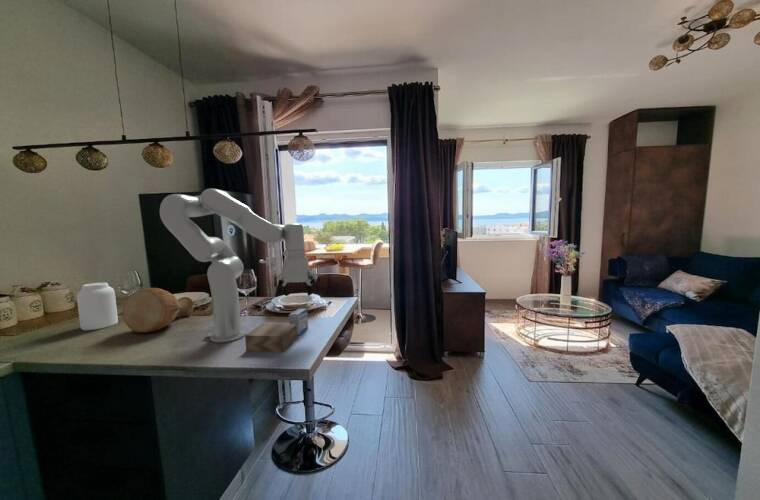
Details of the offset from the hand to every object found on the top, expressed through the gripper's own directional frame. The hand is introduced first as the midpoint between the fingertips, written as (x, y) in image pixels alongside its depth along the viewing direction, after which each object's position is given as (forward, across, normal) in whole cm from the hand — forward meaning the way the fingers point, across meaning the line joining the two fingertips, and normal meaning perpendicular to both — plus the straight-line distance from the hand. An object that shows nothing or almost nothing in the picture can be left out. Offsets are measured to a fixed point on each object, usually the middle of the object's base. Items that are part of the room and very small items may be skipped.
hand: (298, 295), depth 118 cm
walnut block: (+16, -6, -13) cm, 21 cm away
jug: (+14, -67, +5) cm, 69 cm away
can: (+14, -98, +2) cm, 99 cm away
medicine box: (+16, -1, 0) cm, 16 cm away
